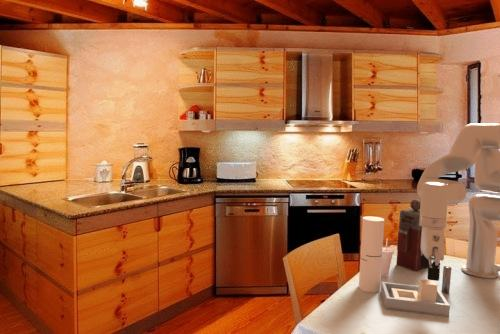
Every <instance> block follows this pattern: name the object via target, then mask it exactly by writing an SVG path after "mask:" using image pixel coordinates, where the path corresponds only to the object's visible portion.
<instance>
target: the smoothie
mask: <svg viewBox="0 0 500 334" xmlns="http://www.w3.org/2000/svg"><path fill="white" fill-rule="evenodd" d="M388 243H389V239H388V238H386V240H385V246H383V250H382V266H381V276H388V275H389V273H390V268H391V265H392V259H393V254H394V249H393V248H390V247H388Z"/></svg>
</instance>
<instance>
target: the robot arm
mask: <svg viewBox="0 0 500 334" xmlns="http://www.w3.org/2000/svg"><path fill="white" fill-rule="evenodd" d="M473 166H474V179H473V180H474V181H473V182H474V187H475V188H476V190H478V191H481V192H487V193H495V194H500V123H469V124H466V125H463V126H462V128H460V130H459V132H458V134H457V136H456V137H455V140H454V142H453V144H452V146H451V148H450V149H449V152H448V153H447V154H445V155H443V156H441V157H439V158H437V159H436V160H434V161H432V162H431V163H429V164H428V165H427V166H426V168H425V169H424V171H423V172H422V174H421V176H420V178H419V180H418V183H417V186H416V193H417V195H418V197H419V198H420V201H421V204H420V220H419V225H420V226H422V232H421V255H422V256H421V261H420V267H421V268H426V269H427V280H434V281H435V282H438V281H440V273H441V261H442V262H443V261H444V260H445V259H444V258H445V232H444V231H445V229H446V228H447V214H448V205H458V204H460V203H462V202H463V201H464V200H465V199H466V196H467V187H466V186H465V185H464V183H462V182H461V181H457V180H450V179H444V178H443V179H442V178H441V177H442V176H445V175H447V174H451V173H455V172H456V173H457V172H459V171H460V172H461V171H464V170H467V169H470V168H472V167H473ZM487 193H478V194H474V195H472V196H471V197H470V198H469V201H468V212H469V230H468V242H467V251H466V262H465V263H466V264H462V265H461V267H460V269H461V270H462V271H463V272H464V273H465V274H467V275H469V276H472V277H476V278H482V279H497V278H499V272H500V264H497V263H496V252H497V244H498V233H499V232H498V228H497V226H496V225H495V223H494V221H496V222H500V195H495V194H493V195H492V194H487ZM496 277H497V278H496Z"/></svg>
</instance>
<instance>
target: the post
mask: <svg viewBox="0 0 500 334" xmlns="http://www.w3.org/2000/svg"><path fill="white" fill-rule="evenodd" d="M451 276H452V267H451V266H448V265H444V266H443V270H442V283H441V293H442V294H446V295H449V294H450V291H451V289H450V287H451V279H452V278H451Z"/></svg>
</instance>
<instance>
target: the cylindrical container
mask: <svg viewBox="0 0 500 334" xmlns="http://www.w3.org/2000/svg"><path fill="white" fill-rule="evenodd" d="M361 225H362V227H361V241H360V243H361V244H360V258H359V260H360V263H359V279H358V280H359V281H358V288H359V289H360V290H361V291H364V292H366V293H367V292H368V293H378V292H381V282H382V275H381V266H382V250H383V247H384V232H385V231H384V230H385V218H383V217H380V216H370V215H367V216H363V217H362V223H361Z"/></svg>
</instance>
